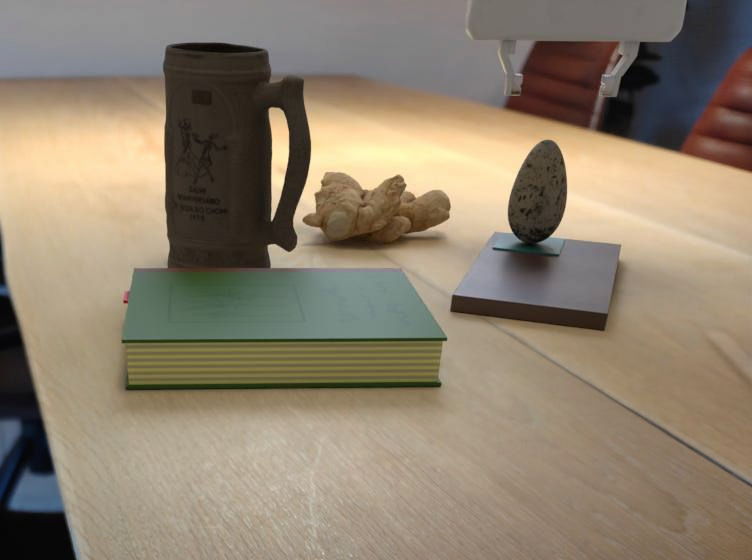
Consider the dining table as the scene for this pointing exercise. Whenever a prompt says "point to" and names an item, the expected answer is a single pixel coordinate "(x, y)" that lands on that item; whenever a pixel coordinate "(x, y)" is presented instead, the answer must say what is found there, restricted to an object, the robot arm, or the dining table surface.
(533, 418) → the dining table surface
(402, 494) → the dining table surface
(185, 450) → the dining table surface
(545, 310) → the serving board
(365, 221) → the ginger root
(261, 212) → the beer stein
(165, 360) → the hardcover book
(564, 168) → the decorative egg
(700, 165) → the dining table surface
